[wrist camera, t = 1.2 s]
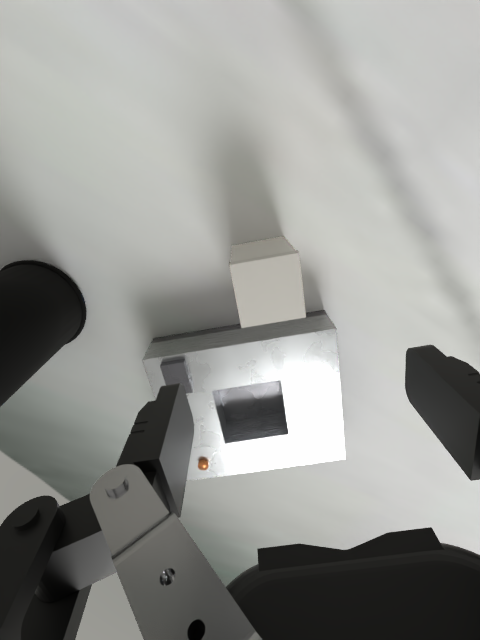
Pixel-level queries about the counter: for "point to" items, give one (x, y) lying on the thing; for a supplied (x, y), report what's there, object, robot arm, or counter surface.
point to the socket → (256, 394)
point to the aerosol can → (34, 320)
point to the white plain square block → (267, 282)
